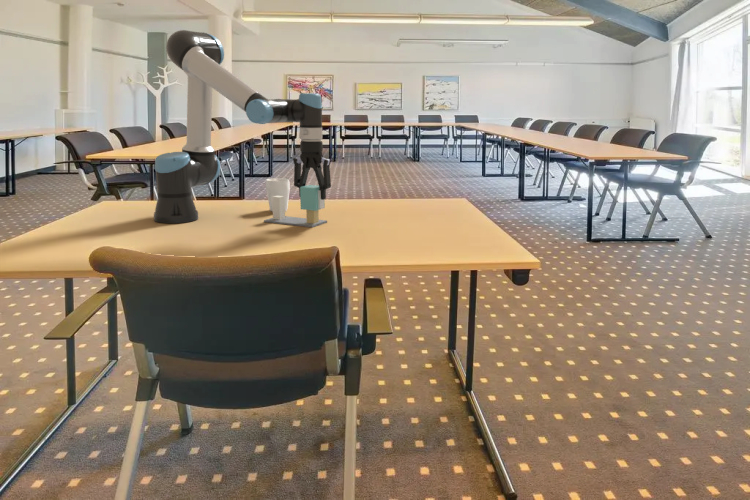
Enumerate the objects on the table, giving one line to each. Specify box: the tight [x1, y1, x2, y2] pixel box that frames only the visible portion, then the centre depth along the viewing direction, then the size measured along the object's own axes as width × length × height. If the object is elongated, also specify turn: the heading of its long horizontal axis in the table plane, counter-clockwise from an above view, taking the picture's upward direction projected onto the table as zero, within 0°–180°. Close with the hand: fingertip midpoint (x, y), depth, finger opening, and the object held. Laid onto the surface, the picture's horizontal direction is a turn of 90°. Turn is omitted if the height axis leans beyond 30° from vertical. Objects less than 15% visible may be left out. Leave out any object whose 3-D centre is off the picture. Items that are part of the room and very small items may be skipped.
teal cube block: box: [299, 184, 325, 211], centre depth 217 cm, size 6×6×8 cm
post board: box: [263, 196, 328, 228], centre depth 222 cm, size 20×10×9 cm, turn 65°
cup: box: [265, 177, 291, 213], centre depth 243 cm, size 9×9×12 cm
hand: (312, 207), depth 218 cm, fingers closed on teal cube block, 6 cm apart
